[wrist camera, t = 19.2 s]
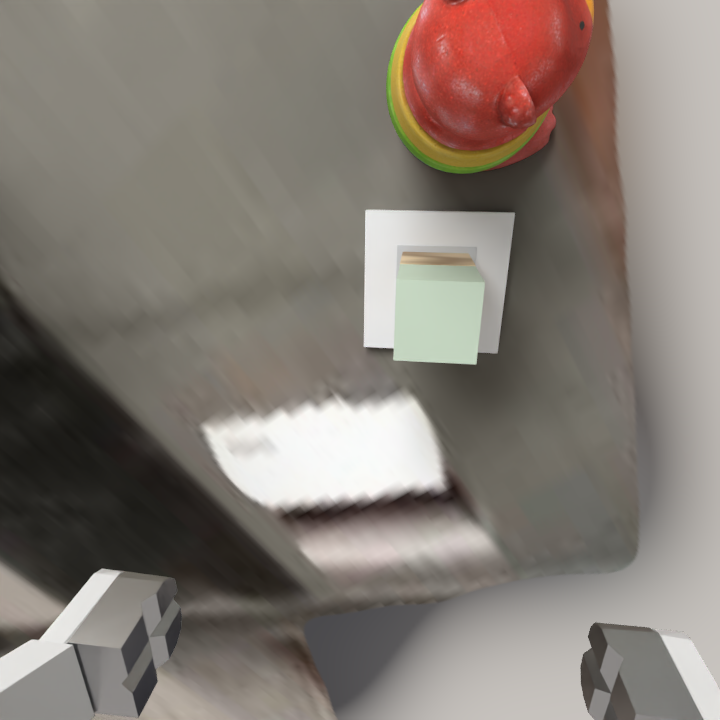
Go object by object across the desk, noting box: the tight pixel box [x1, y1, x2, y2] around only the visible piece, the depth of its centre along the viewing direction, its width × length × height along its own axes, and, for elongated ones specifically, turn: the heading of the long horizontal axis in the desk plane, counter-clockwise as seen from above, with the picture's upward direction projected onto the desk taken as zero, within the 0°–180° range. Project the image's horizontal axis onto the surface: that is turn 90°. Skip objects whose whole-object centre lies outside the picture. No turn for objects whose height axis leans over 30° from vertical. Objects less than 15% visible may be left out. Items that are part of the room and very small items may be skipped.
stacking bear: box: [386, 0, 594, 174], centre depth 25 cm, size 11×10×18 cm
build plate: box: [364, 210, 515, 353], centre depth 37 cm, size 11×11×1 cm
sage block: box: [393, 264, 485, 365], centre depth 30 cm, size 5×5×5 cm
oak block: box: [400, 252, 476, 266], centre depth 35 cm, size 5×5×5 cm
